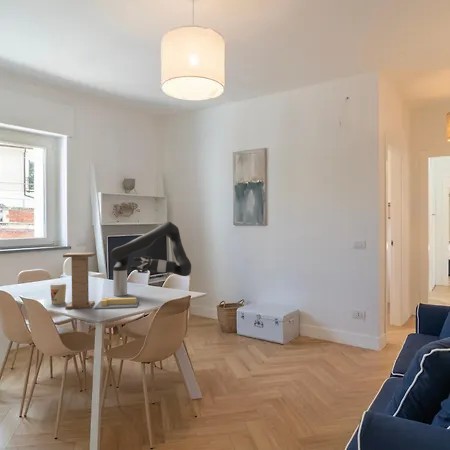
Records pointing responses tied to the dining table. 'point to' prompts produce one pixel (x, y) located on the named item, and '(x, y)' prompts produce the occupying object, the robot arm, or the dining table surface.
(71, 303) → the walnut stand
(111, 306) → the grey mat
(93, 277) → the dining table surface
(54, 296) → the coffee cup
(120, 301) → the mustard bar
